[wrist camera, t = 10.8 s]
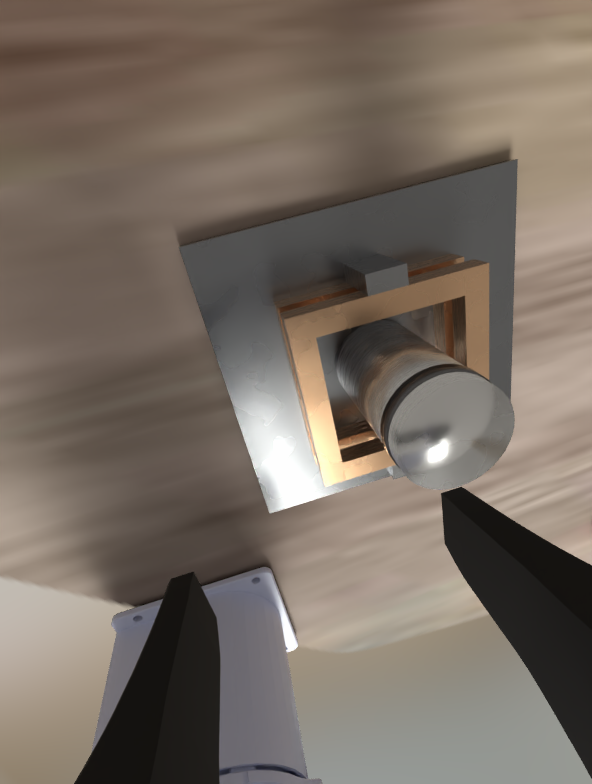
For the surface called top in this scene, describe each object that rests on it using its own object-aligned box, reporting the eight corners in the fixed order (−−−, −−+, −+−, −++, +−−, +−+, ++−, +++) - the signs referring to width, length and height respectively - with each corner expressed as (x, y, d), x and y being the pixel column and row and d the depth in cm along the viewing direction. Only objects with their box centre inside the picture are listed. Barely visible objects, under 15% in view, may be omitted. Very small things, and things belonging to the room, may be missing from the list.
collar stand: (268, 507, 22) (277, 552, 20) (179, 245, 16) (173, 256, 13) (503, 434, 23) (544, 467, 21) (509, 160, 17) (569, 153, 14)
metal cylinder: (344, 411, 20) (404, 506, 14) (326, 334, 18) (386, 403, 12) (422, 386, 20) (516, 467, 14) (412, 307, 18) (515, 361, 12)
